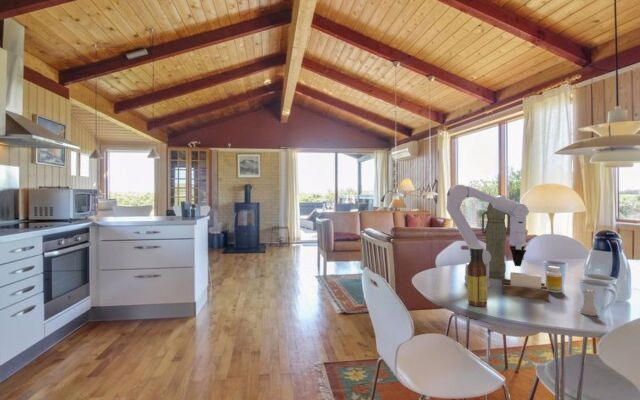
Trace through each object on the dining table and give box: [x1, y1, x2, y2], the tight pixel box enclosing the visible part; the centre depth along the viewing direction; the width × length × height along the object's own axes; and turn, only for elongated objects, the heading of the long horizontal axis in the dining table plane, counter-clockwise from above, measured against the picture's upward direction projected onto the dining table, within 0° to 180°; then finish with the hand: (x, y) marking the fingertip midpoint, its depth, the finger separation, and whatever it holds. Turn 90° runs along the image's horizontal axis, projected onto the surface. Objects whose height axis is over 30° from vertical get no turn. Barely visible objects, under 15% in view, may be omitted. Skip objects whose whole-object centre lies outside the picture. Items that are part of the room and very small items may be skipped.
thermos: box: [481, 203, 511, 280], centre depth 164 cm, size 9×12×35 cm
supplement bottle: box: [545, 265, 563, 294], centre depth 141 cm, size 5×5×10 cm
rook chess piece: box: [580, 288, 598, 317], centre depth 114 cm, size 4×4×8 cm
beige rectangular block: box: [510, 271, 542, 289], centre depth 134 cm, size 10×3×7 cm, turn 64°
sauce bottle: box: [467, 247, 488, 308], centre depth 122 cm, size 7×6×20 cm
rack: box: [501, 278, 550, 301], centre depth 137 cm, size 15×13×4 cm
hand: (517, 264), depth 146 cm, fingers open, 7 cm apart
